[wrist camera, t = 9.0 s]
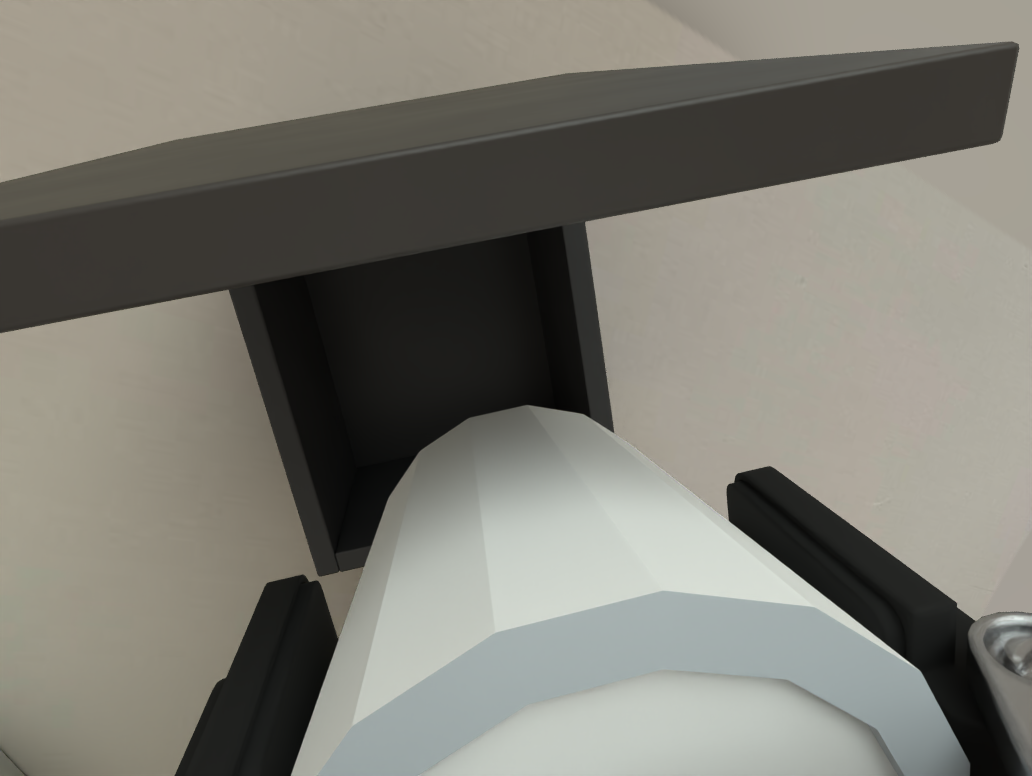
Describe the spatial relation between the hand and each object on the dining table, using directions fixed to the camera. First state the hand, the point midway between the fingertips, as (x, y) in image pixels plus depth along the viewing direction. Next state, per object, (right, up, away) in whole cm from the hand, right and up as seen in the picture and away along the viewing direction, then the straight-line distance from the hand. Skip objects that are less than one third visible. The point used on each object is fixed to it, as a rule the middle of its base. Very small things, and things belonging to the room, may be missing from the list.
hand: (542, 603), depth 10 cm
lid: (-3, +8, +1) cm, 9 cm away
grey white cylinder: (0, +1, +2) cm, 2 cm away
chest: (-4, +7, +19) cm, 21 cm away
